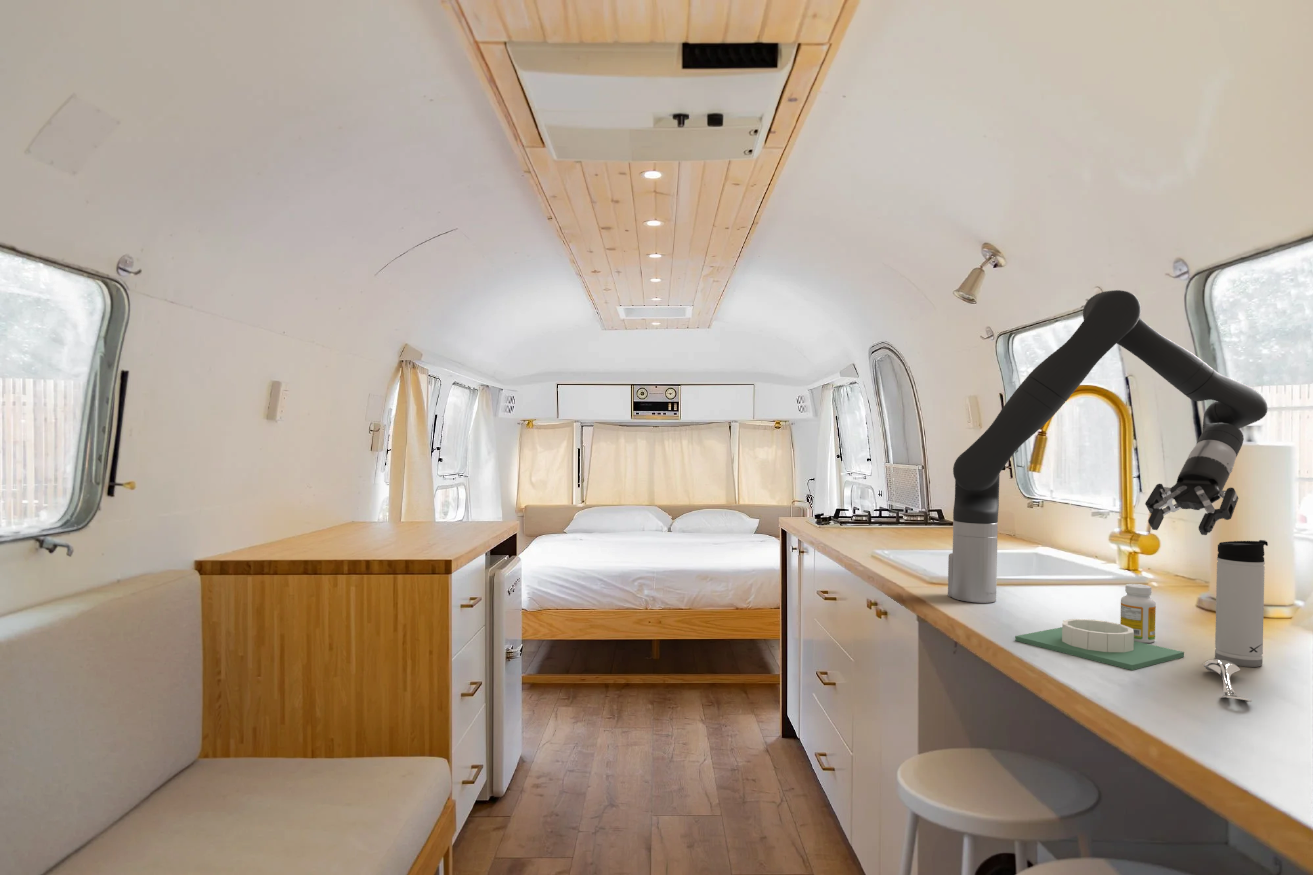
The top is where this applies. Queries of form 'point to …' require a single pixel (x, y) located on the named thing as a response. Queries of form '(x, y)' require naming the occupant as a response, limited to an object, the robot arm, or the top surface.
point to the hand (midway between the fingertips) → (1177, 529)
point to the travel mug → (1240, 602)
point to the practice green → (1100, 643)
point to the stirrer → (1225, 676)
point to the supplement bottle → (1139, 612)
